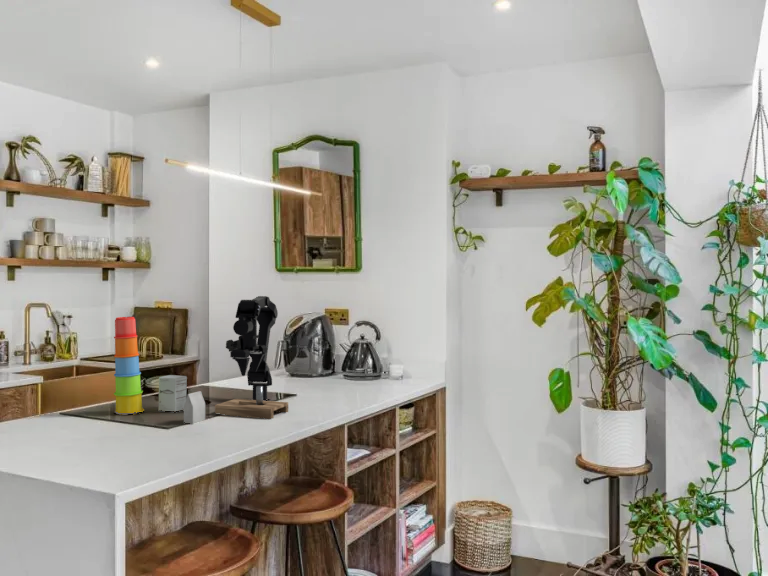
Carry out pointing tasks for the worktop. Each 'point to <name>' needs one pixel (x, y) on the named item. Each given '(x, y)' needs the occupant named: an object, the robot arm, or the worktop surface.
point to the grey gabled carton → (194, 408)
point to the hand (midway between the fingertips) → (249, 373)
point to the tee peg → (259, 395)
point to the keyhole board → (251, 408)
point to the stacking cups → (127, 367)
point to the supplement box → (172, 392)
